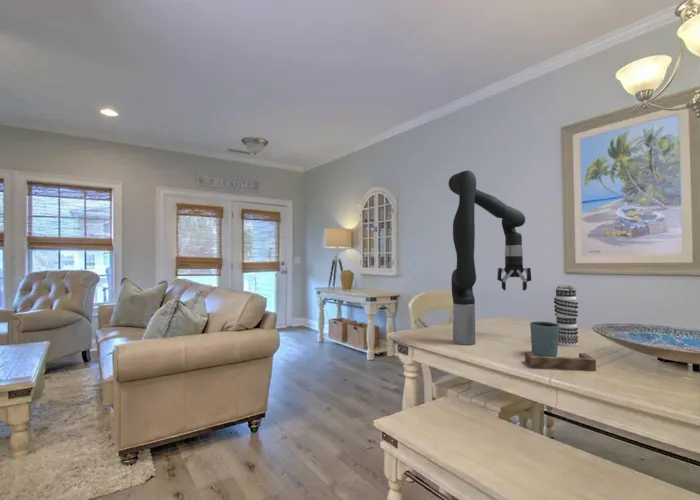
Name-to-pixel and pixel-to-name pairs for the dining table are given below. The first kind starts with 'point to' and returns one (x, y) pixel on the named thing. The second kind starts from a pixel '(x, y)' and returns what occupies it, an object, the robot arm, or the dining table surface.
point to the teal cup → (544, 338)
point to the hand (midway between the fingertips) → (514, 290)
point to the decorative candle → (566, 314)
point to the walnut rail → (561, 362)
